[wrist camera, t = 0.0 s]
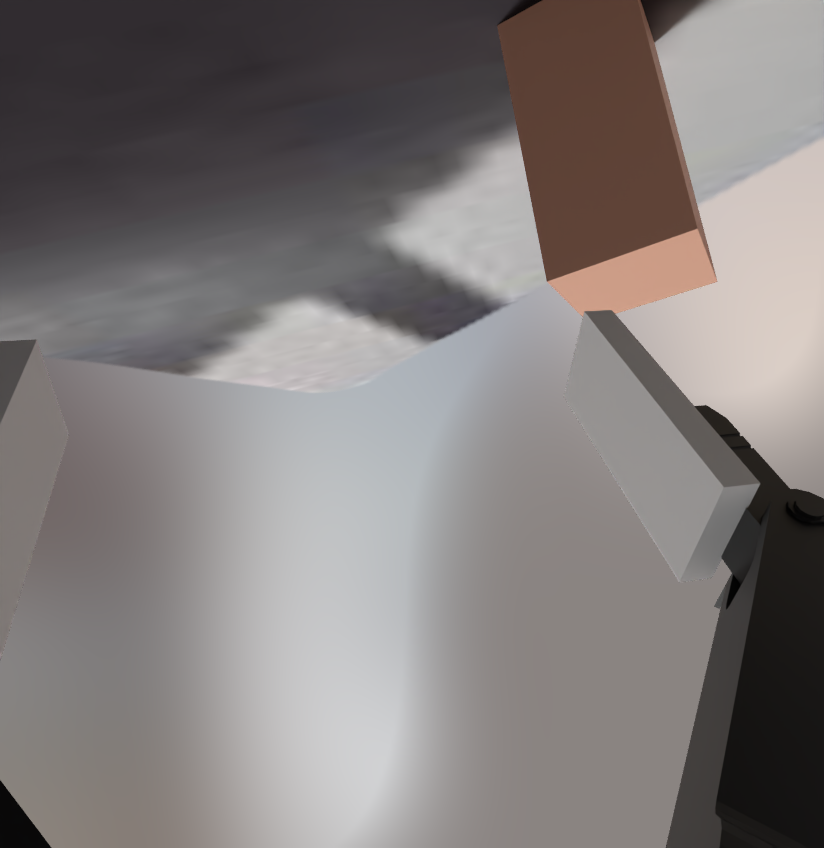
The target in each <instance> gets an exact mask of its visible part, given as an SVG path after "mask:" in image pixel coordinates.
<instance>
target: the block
mask: <svg viewBox="0 0 824 848" xmlns="http://www.w3.org/2000/svg"><path fill="white" fill-rule="evenodd" d="M497 27H498V32H499V37H500V42H501V47H502V52H503V58H504V63H505V68H506V73H507V78H508V83H509V88H510V94H511V99H512V104H513V109H514V114H515V119H516V125H517V130H518V135H519V140H520V145H521V150H522V155H523V161H524V166H525V171H526V176H527V181H528V186H529V191H530V197H531V202H532V207H533V212H534V217H535V222H536V228H537V233H538V238H539V243H540V248H541V253H542V258H543V264H544V269H545V274H546V279H547V282H548V283H549V284H550V285H551V286H552V287H553V288H554V289H555V290H556V291H557V292H558V293H559V294H560V295H561V296H562V297H563V298H564V299H565V300H566V301H567V302H568V303H569V304H570V305H571V306H572V307H573V308H574V309H575V310H576V311H577V312H578V313H579V314H580V315H581V316H582V317H583V314H584V311H601V310H612V311H613V312H614V313H615V314H616V313H619V312H622V311H625V310H628V309H632V308H635V307H638V306H641V305H645V304H647V303H651V302H654V301H657V300H661V299H664V298H667V297H670V296H673V295H677V294H679V293H683V292H686V291H689V290H693V289H696V288H699V287H702V286H705V285H708V284H712V283H715V282H717V279H716V275H715V272H714V267H713V263H712V260H711V256H710V252H709V248H708V244H707V241H706V237H705V233H704V229H703V226H702V222H701V218H700V214H699V210H698V206H697V203H696V199H695V195H694V191H693V187H692V184H691V180H690V176H689V172H688V169H687V165H686V161H685V157H684V153H683V150H682V146H681V142H680V138H679V134H678V131H677V127H676V123H675V119H674V115H673V112H672V108H671V104H670V100H669V97H668V93H667V89H666V85H665V81H664V78H663V74H662V70H661V66H660V62H659V59H658V55H657V51H656V47H655V43H654V40H653V37H652V34H651V31H650V28H649V25H648V22H647V18H646V15H645V12H644V9H643V6H642V3H641V0H542V1H540V2H538V3H537V4H535V5H533V6H531V7H530V8H528V9H526V10H524V11H522V12H521V13H519V14H517V15H515V16H513V17H512V18H510V19H508V20H506V21H504V22H503V23H501V24H499V25H497Z"/></svg>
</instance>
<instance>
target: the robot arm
mask: <svg viewBox="0 0 824 848" xmlns="http://www.w3.org/2000/svg"><path fill="white" fill-rule="evenodd" d="M564 398H565V400H566V402H567V403H568V405H569V406H570V408H571V410H572V411H573V413H574V414H575V416H576V417H577V419H578V421H579V422H580V424H581V426H582V427H583V429H584V430H585V432H586V434H587V435H588V437H589V438H590V440H591V442H592V443H593V445H594V446H595V448H596V449H597V451H598V453H599V455H600V456H601V458H602V459H603V461H604V462H605V464H606V465H607V467H608V469H609V471H610V472H611V474H612V475H613V477H614V479H615V480H616V482H617V483H618V485H619V487H620V488H621V490H622V491H623V493H624V495H625V496H626V498H627V499H628V501H629V503H630V504H631V506H632V507H633V509H634V511H635V512H636V514H637V515H638V517H639V519H640V520H641V522H642V523H643V525H644V527H645V528H646V530H647V531H648V533H649V535H650V536H651V538H652V539H653V541H654V543H655V544H656V546H657V548H658V549H659V551H660V552H661V554H662V555H663V557H664V559H665V560H666V562H667V563H668V565H669V567H670V568H671V570H672V572H673V573H674V575H675V576H676V578H677V580H678V581H679V582H686V581H693V580H701V579H708V578H712V577H713V575H714V573H715V571H716V569H717V567H718V565H719V563H720V561H721V559H723V560H724V562H725V563H726V565H727V566H728V568H729V569H730V570H731V572H732V574H731V576H730V578H729V580H728V581H727V584H726V585H725V587H724V589H723V591H722V593H721V595H720V596H719V598H718V600H717V602H716V604H715V607H717V608H720V607H721V609H720V613H719V618H718V623H717V627H716V631H715V636H714V640H713V644H712V648H711V653H710V657H709V662H708V666H707V670H706V675H705V679H704V683H703V688H702V692H701V697H700V701H699V705H698V709H697V714H696V718H695V722H694V727H693V731H692V736H691V740H690V745H689V749H688V753H687V757H686V762H685V766H684V771H683V775H682V779H681V783H680V788H679V793H678V797H677V801H676V805H675V810H674V814H673V819H672V823H671V827H670V832H669V836H668V840H667V845H666V848H824V499H823V498H821V497H819V496H817V495H815V494H812V493H810V492H806V491H802V490H798V489H790V488H789V487H788V486H787V485H786V484H785V483H784V482H783V481H782V479H781V478H780V477H779V476H778V475H777V474H776V473H775V472H774V470H773V469H772V468H771V467H770V466H769V465H768V464H767V463H766V462H765V460H764V459H763V458H762V457H761V456H760V455H759V454H758V453H757V452H756V450H754V448H751V445H750V444H749V443H748V442H747V441H746V439H745V438H744V437H743V436H740V433H739V432H738V431H737V429H736V428H735V427H734V426H733V425H732V424H731V423H730V422H729V420H728V419H727V418H725V417H724V416H722V415H721V414H719V413H718V412H716V411H715V410H713V409H711V408H710V407H708V406H706V405H705V406H694V405H693V404H692V403H691V402H690V401H689V400H688V399H687V397H686V396H685V395H684V394H683V393H682V391H681V390H680V389H679V388H678V387H677V386H676V384H675V383H674V382H673V381H672V380H671V379H670V377H669V376H668V375H667V374H666V373H665V372H664V371H663V369H662V368H661V367H660V366H659V365H658V363H657V362H656V361H655V360H654V359H653V358H652V357H651V355H650V354H649V353H648V352H647V351H646V350H645V348H644V347H643V346H642V345H641V344H640V343H639V341H638V340H637V339H636V338H635V337H634V336H633V335H632V333H631V332H630V331H629V330H628V329H627V327H626V326H625V325H624V324H623V323H622V322H621V320H620V319H619V318H618V317H617V316H616V315H615V313H614V312H613V311H612V310H601V311H584V314H583V319H582V323H581V327H580V331H579V336H578V339H577V344H576V348H575V353H574V356H573V360H572V365H571V369H570V373H569V377H568V381H567V385H566V390H565V394H564ZM68 436H69V434H68V431H67V428H66V425H65V422H64V419H63V416H62V413H61V410H60V407H59V404H58V401H57V398H56V395H55V392H54V389H53V386H52V383H51V380H50V377H49V374H48V371H47V368H46V365H45V362H44V359H43V356H42V353H41V350H40V347H39V344H38V341H37V340H19V341H0V660H1V657H2V654H3V650H4V647H5V644H6V640H7V637H8V634H9V631H10V627H11V624H12V621H13V617H14V614H15V611H16V608H17V604H18V601H19V598H20V594H21V591H22V588H23V585H24V581H25V577H26V574H27V571H28V568H29V565H30V561H31V558H32V555H33V552H34V548H35V545H36V542H37V538H38V535H39V532H40V529H41V525H42V522H43V519H44V515H45V512H46V509H47V505H48V502H49V499H50V496H51V492H52V489H53V486H54V482H55V479H56V476H57V473H58V469H59V466H60V463H61V459H62V456H63V453H64V450H65V446H66V443H67V440H68ZM0 848H51V847H50V845H49V844H48V843H47V841H46V840H45V839H44V837H43V836H42V835H41V833H40V832H39V831H38V829H37V828H36V827H35V825H34V824H33V823H32V821H31V820H30V819H29V818H28V816H27V815H26V814H25V812H24V811H23V810H22V808H21V807H20V806H19V804H18V803H17V802H16V801H15V799H14V798H13V797H12V795H11V794H10V792H9V791H8V790H7V789H6V787H5V786H4V784H3V783H2V782H1V781H0Z"/></svg>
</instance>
